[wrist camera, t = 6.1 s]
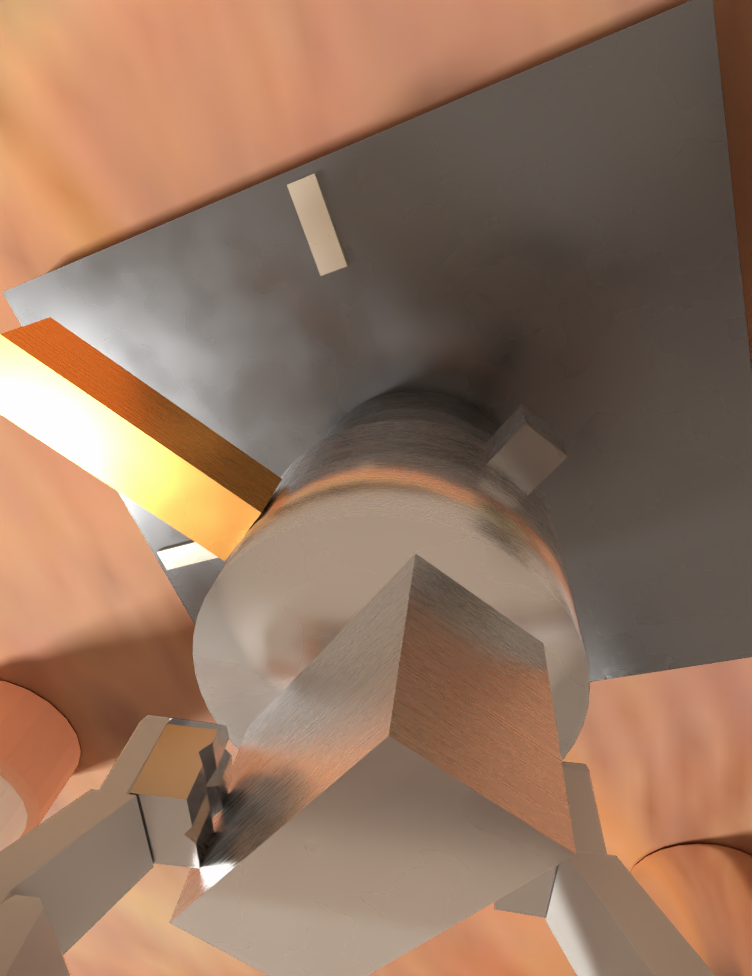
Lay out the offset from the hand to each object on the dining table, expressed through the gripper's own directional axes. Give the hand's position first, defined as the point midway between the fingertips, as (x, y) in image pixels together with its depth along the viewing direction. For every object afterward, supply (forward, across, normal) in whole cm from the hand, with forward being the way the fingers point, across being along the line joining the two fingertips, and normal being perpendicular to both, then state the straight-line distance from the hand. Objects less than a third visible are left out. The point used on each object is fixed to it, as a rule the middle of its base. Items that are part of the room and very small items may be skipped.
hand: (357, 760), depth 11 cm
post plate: (+12, 0, 0) cm, 12 cm away
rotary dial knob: (+6, +2, -2) cm, 7 cm away
